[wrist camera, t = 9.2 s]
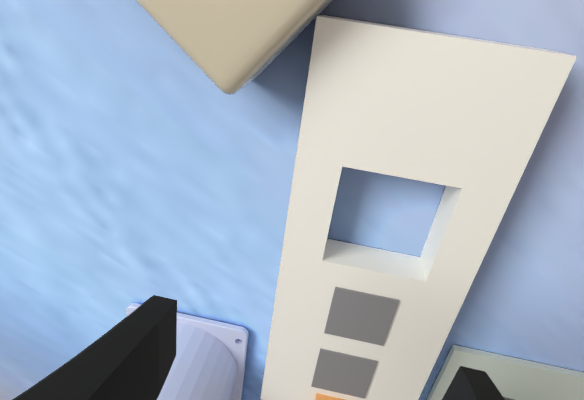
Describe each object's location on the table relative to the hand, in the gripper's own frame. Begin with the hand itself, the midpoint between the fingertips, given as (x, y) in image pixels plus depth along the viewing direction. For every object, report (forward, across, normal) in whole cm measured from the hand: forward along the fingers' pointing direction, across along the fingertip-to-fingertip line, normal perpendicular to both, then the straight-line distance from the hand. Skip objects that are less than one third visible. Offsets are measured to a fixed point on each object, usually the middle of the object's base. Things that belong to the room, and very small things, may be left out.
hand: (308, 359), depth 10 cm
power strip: (+10, -3, +3) cm, 11 cm away
